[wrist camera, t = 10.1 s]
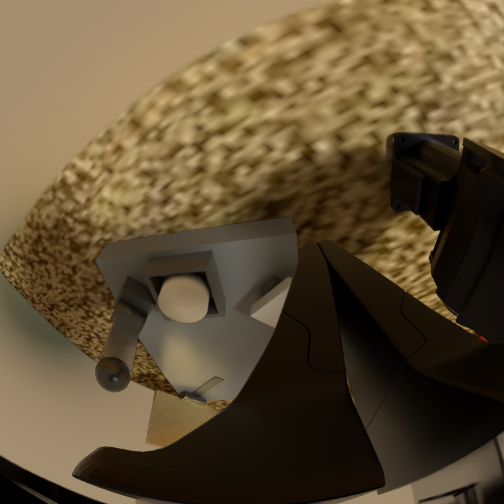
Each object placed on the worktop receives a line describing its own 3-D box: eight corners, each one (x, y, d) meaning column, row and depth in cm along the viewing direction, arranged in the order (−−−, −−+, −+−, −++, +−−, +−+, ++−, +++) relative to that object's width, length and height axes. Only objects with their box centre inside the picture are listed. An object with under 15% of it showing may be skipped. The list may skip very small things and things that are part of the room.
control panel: (292, 216, 21) (301, 247, 18) (299, 377, 35) (303, 405, 31) (106, 243, 22) (86, 274, 19) (185, 385, 36) (181, 411, 32)
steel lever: (122, 292, 20) (93, 365, 12) (150, 307, 21) (136, 384, 13) (112, 313, 21) (84, 387, 12) (139, 327, 22) (124, 405, 13)
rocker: (288, 276, 20) (289, 286, 19) (314, 291, 20) (315, 302, 20) (251, 305, 22) (250, 316, 21) (276, 318, 23) (276, 328, 22)
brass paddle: (161, 383, 30) (150, 441, 24) (229, 406, 34) (227, 459, 27) (152, 390, 32) (142, 444, 25) (217, 412, 35) (215, 462, 28)
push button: (203, 269, 19) (200, 284, 18) (214, 305, 21) (212, 321, 20) (156, 274, 20) (150, 289, 18) (171, 309, 22) (167, 324, 20)
